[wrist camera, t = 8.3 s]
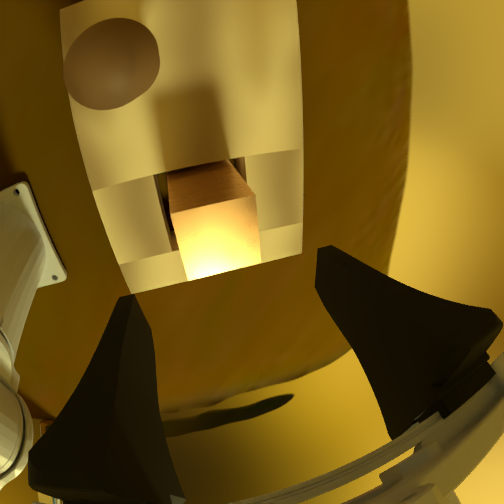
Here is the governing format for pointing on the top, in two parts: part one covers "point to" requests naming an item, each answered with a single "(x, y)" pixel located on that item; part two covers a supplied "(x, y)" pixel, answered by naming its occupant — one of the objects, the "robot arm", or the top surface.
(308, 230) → the top surface
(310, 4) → the top surface
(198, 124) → the board
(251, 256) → the brown wooden block
